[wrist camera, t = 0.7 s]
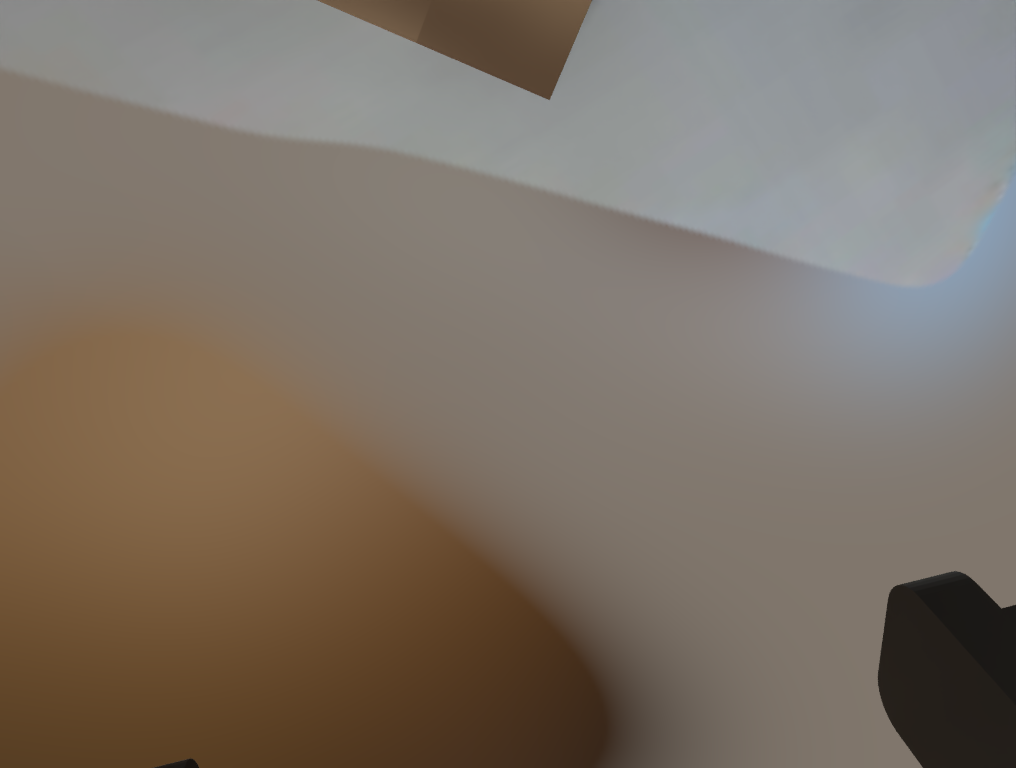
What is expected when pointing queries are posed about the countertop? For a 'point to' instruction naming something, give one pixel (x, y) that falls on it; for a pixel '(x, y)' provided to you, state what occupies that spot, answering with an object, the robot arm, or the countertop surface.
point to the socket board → (486, 33)
